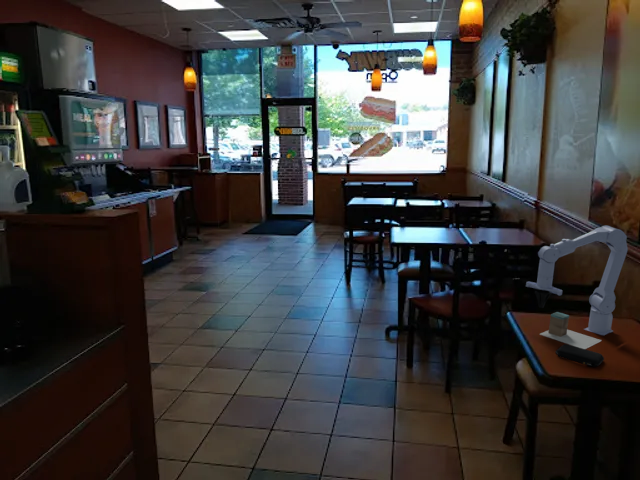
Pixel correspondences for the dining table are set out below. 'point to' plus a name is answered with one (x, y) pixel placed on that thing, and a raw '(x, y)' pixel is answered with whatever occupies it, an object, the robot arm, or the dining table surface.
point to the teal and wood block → (558, 324)
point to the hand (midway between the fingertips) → (541, 307)
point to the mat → (574, 339)
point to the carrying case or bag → (580, 355)
